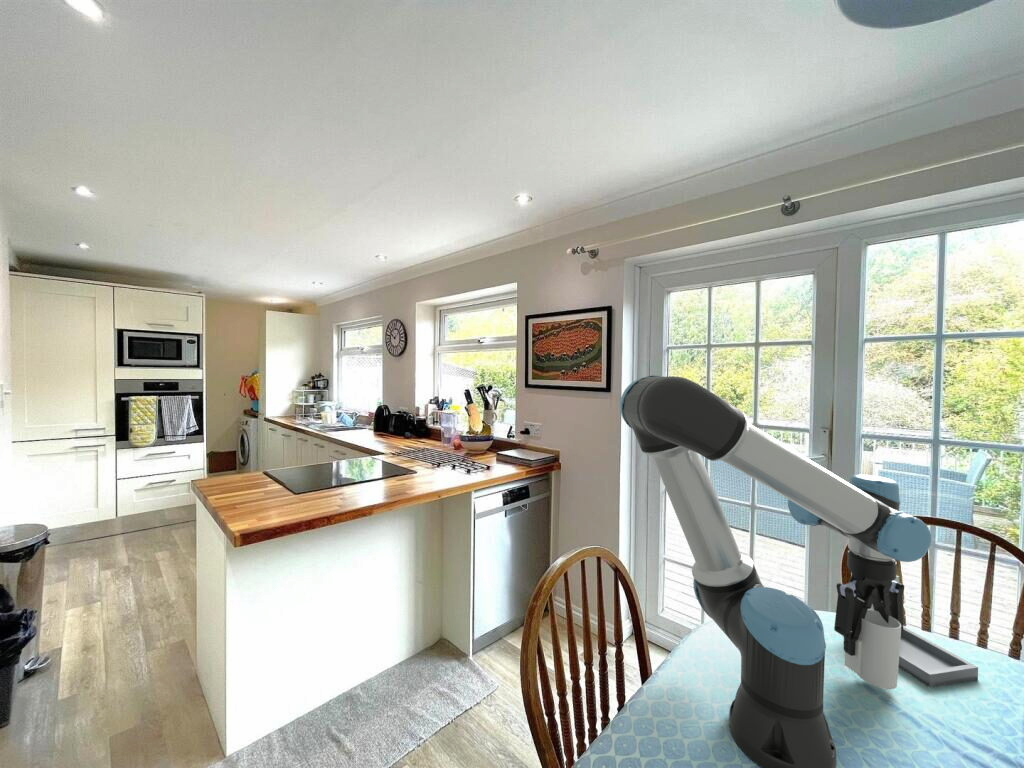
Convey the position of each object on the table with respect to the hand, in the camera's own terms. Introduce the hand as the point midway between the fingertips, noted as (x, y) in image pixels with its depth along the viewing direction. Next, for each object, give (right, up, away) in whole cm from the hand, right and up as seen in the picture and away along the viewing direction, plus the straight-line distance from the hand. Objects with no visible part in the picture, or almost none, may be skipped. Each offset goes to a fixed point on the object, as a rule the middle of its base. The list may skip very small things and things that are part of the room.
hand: (867, 667), depth 85 cm
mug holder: (+15, -3, +7) cm, 17 cm away
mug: (0, -1, 0) cm, 1 cm away
